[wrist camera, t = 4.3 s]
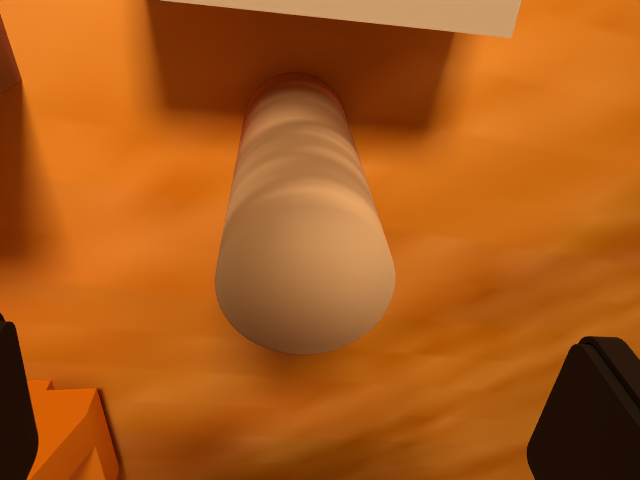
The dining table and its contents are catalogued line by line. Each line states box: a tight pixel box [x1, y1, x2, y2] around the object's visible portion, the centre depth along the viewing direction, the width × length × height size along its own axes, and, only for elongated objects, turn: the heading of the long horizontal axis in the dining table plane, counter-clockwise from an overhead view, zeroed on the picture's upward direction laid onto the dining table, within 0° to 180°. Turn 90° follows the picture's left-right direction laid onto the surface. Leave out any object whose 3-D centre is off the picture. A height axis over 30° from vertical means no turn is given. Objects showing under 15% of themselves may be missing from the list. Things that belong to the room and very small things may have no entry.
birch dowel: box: [215, 73, 395, 355], centre depth 18 cm, size 4×4×12 cm
